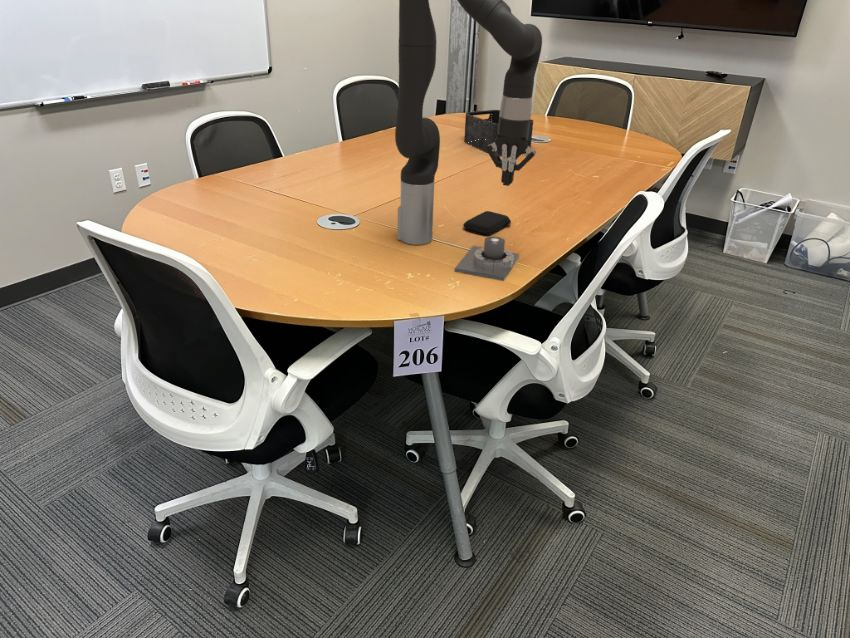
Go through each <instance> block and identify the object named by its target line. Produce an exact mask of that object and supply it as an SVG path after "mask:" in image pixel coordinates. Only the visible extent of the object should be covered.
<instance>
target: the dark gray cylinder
mask: <svg viewBox="0 0 850 638" xmlns="http://www.w3.org/2000/svg"><path fill="white" fill-rule="evenodd" d="M505 244H506V240H505V239H504V238H502V237H499V236H486V237H485V238H484V244H483V245H484V246H483V248H484V254H483V257H485V258H487V259H491V260H501V259H503V255H504V249H505V246H506V245H505Z"/></svg>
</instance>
